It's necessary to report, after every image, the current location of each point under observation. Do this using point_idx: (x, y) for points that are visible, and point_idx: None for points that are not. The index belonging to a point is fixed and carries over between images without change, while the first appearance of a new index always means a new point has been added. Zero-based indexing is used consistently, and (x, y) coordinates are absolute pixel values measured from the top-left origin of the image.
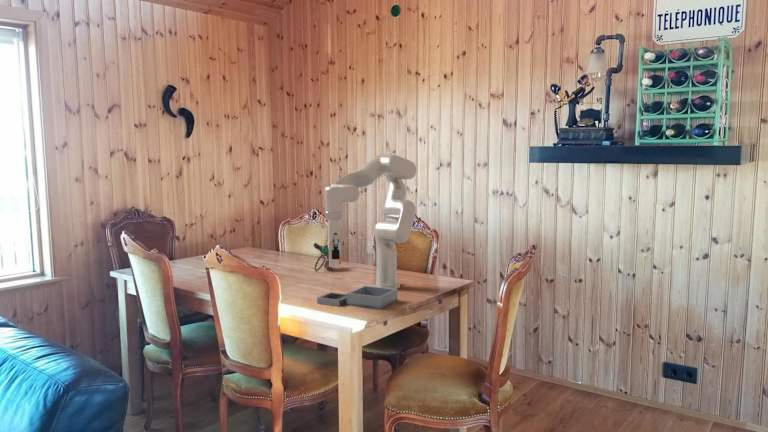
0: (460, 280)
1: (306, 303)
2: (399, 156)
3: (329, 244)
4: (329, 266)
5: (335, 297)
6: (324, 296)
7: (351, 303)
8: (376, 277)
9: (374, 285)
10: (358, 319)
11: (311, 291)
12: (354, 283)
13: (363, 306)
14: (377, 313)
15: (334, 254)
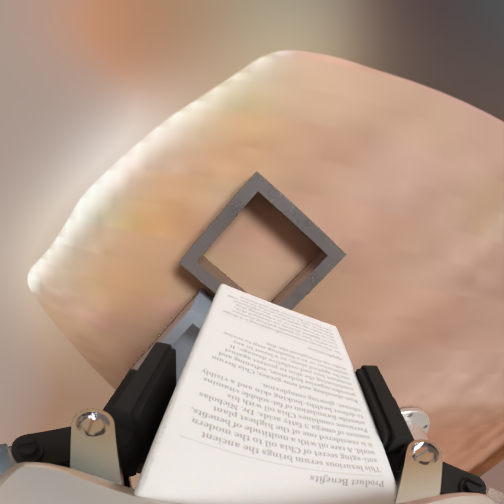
0: None
1: (272, 126)
2: None
3: (144, 466)
4: (219, 287)
5: (309, 266)
6: (282, 212)
7: (186, 306)
8: (414, 436)
9: (408, 414)
10: (39, 278)
11: (459, 195)
12: (482, 359)
13: (159, 336)
14: (89, 347)
15: (122, 389)
